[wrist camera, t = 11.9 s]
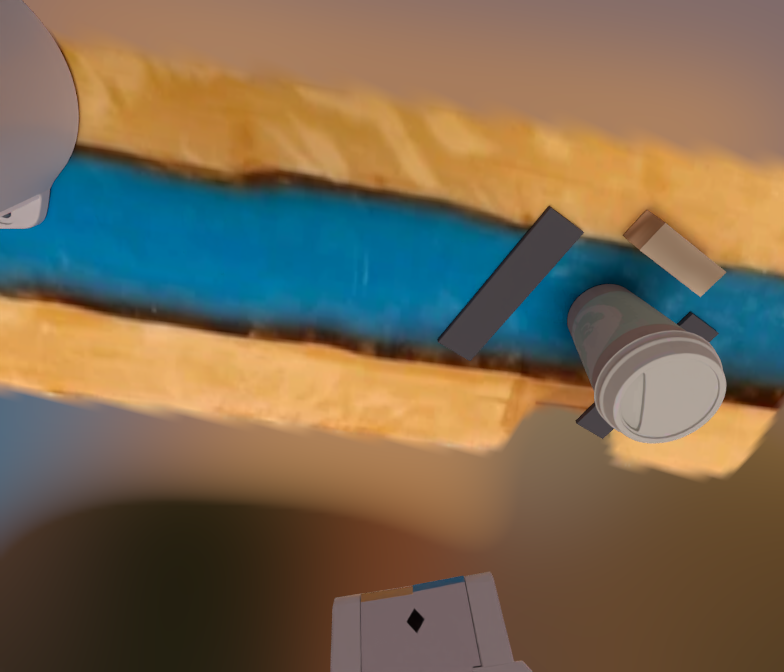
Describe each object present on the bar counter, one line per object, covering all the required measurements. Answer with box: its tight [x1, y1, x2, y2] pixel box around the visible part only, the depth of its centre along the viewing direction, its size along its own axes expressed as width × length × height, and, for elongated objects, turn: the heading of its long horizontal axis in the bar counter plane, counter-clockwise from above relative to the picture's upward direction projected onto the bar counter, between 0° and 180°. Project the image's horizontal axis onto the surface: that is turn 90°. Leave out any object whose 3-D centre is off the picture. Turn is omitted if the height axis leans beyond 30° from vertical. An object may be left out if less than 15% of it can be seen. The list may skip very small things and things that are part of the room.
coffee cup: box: [567, 284, 726, 443], centre depth 42 cm, size 8×8×12 cm
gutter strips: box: [438, 206, 719, 439], centre depth 48 cm, size 14×20×1 cm
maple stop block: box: [623, 210, 726, 297], centre depth 43 cm, size 2×7×3 cm, turn 55°
